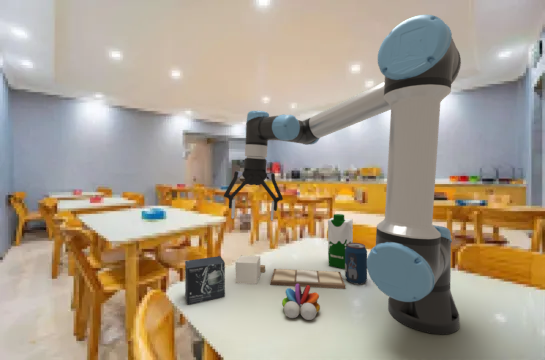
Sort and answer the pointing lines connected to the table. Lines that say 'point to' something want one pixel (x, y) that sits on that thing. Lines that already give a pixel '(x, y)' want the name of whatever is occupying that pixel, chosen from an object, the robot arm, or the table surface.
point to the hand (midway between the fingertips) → (252, 218)
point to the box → (204, 279)
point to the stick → (262, 268)
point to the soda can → (356, 263)
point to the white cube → (247, 269)
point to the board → (307, 278)
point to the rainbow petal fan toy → (301, 303)
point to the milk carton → (339, 239)
